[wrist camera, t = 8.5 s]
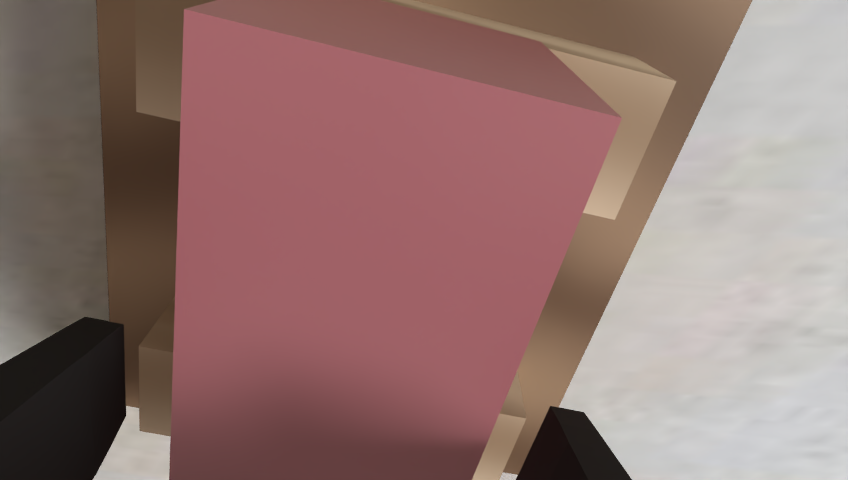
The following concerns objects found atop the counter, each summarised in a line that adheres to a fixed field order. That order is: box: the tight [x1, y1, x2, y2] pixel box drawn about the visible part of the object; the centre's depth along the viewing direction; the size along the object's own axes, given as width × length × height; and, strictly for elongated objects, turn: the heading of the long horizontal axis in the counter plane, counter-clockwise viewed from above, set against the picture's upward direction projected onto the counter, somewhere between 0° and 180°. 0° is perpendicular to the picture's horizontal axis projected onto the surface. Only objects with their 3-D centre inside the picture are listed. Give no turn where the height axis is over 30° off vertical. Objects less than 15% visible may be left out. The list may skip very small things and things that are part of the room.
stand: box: [96, 0, 752, 480], centre depth 15 cm, size 16×14×4 cm
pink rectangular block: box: [169, 0, 622, 480], centre depth 11 cm, size 12×4×5 cm, turn 167°
